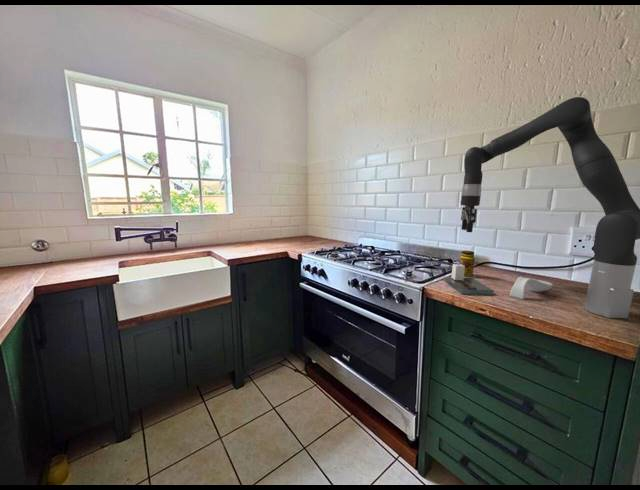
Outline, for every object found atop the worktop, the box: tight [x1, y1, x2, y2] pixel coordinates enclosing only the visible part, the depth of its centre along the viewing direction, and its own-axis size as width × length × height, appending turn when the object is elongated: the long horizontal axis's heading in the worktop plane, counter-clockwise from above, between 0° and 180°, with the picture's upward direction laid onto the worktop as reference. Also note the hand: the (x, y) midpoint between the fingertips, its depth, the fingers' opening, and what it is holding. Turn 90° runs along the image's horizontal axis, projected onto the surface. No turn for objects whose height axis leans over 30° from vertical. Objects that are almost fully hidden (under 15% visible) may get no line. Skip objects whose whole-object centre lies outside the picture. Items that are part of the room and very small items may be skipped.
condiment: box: [459, 250, 476, 279], centre depth 131 cm, size 7×8×12 cm
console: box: [444, 275, 495, 296], centre depth 113 cm, size 16×12×3 cm
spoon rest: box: [509, 276, 554, 300], centre depth 108 cm, size 24×12×7 cm, turn 126°
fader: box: [450, 263, 465, 280], centre depth 117 cm, size 3×4×6 cm
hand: (466, 230), depth 123 cm, fingers open, 8 cm apart
